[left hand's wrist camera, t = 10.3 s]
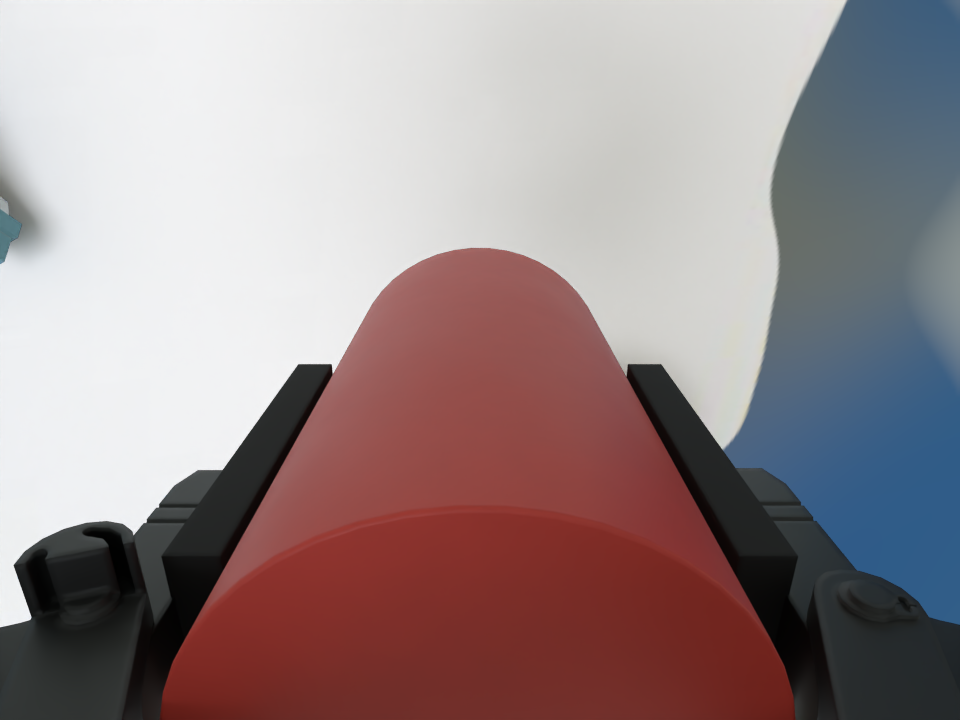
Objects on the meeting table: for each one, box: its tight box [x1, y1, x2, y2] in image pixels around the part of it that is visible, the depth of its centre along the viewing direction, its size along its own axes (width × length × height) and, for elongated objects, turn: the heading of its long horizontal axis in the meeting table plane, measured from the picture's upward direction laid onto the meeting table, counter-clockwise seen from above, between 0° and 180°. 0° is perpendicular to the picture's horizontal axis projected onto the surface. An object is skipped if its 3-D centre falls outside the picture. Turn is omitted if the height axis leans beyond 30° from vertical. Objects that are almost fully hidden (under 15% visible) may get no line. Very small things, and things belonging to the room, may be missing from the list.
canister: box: [160, 248, 796, 720], centre depth 12 cm, size 7×7×11 cm
